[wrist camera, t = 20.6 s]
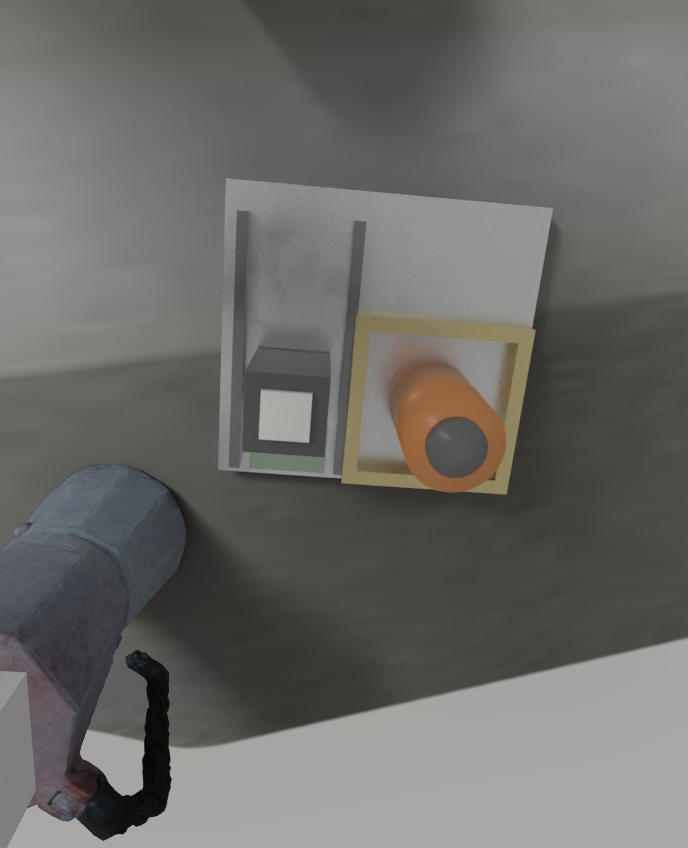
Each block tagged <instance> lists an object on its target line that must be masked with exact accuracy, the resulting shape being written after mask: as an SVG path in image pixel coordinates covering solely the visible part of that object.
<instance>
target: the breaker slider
mask: <svg viewBox="0 0 688 848" xmlns="http://www.w3.org/2000/svg"><path fill="white" fill-rule="evenodd" d="M330 382H331V362H330V354H324V353H311V352H298V351H286V350H273V349H260V348H257V350H256V352H255V354H254V355H253V357H252V359H251V361H250V363H249V365H248V366H247V368H246V370H245V383H244V409H243V435H242V452H254V453H268V454H282V455H296V456H311V457H325V444H326V432H327V419H328V407H329V394H330Z"/></svg>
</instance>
